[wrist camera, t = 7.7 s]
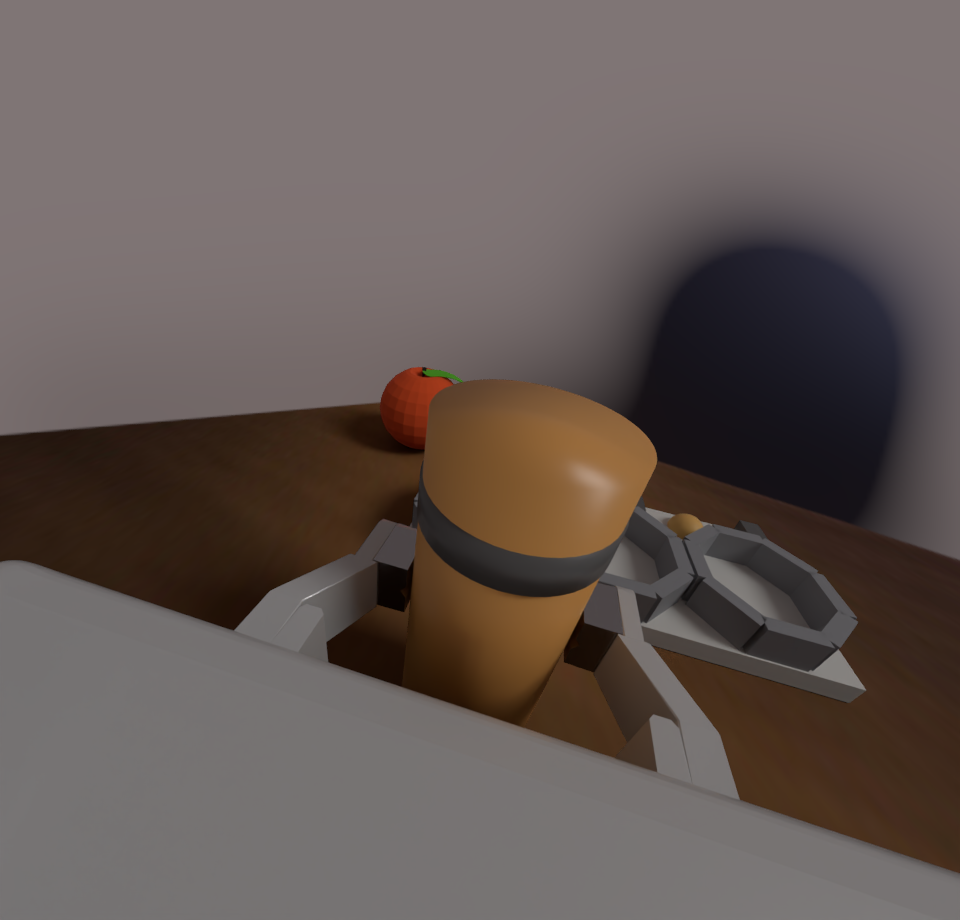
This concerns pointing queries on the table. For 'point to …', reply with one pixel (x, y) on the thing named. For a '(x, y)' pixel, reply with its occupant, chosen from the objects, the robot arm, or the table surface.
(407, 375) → the clementine
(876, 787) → the table surface
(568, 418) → the orange-brown tall cylinder
